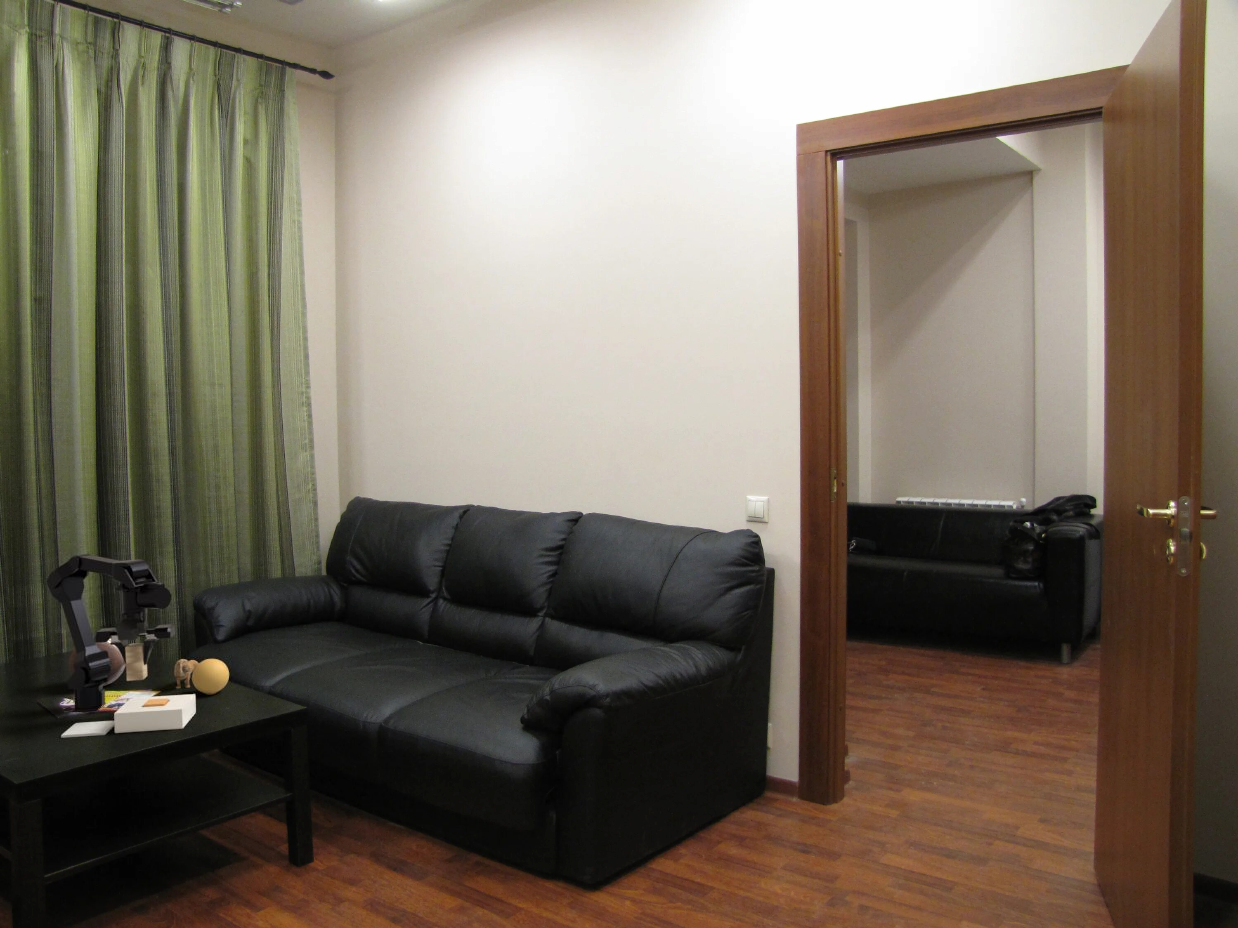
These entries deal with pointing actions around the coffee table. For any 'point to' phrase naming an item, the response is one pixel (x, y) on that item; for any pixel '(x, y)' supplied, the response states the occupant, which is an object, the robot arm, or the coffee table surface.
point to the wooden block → (135, 662)
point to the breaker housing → (155, 714)
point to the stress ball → (210, 676)
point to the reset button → (156, 702)
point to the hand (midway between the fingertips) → (136, 665)
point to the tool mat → (89, 729)
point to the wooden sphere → (114, 657)
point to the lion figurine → (184, 671)
